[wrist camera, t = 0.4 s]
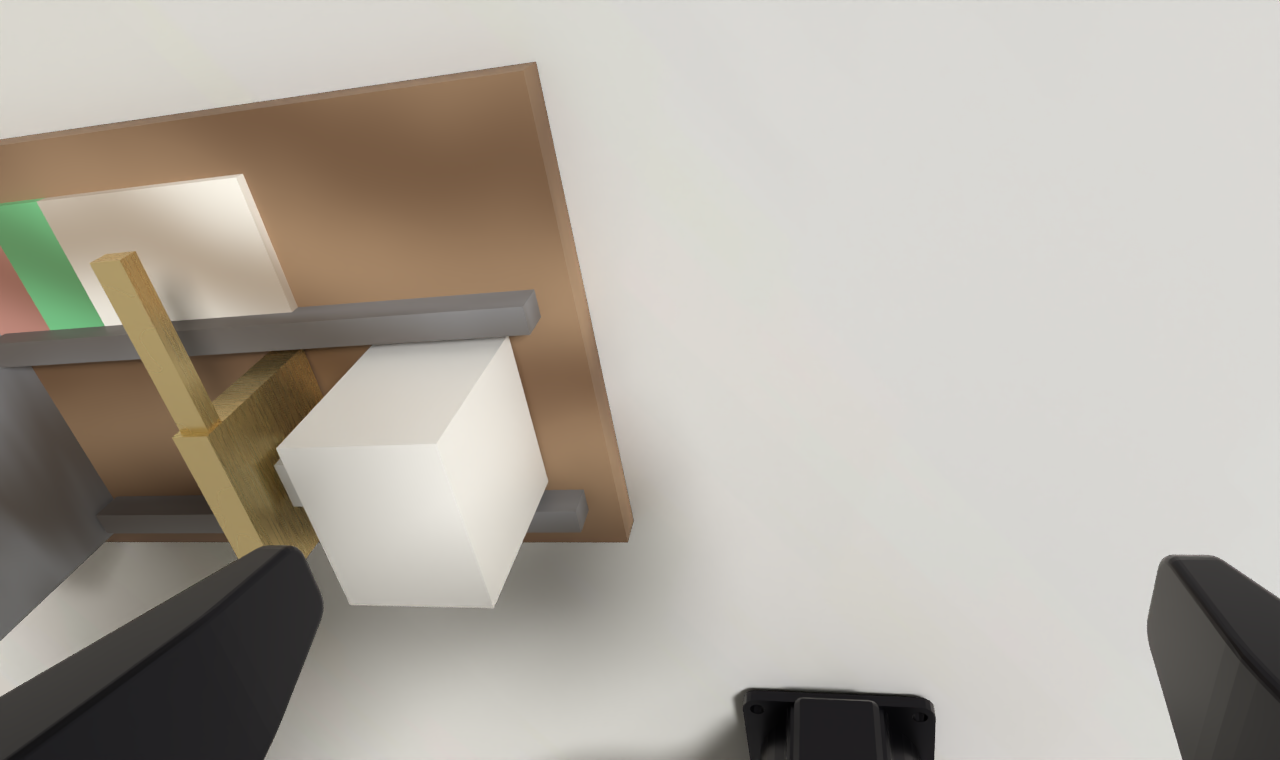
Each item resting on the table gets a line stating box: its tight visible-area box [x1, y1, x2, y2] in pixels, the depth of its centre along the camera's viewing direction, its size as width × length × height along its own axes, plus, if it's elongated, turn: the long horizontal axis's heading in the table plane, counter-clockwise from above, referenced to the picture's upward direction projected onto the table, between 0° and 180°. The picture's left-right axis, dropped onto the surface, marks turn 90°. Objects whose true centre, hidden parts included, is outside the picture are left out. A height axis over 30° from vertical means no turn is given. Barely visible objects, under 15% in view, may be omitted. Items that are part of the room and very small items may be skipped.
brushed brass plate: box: [89, 251, 323, 559], centre depth 22 cm, size 10×1×4 cm, turn 9°
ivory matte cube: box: [274, 336, 548, 608], centre depth 22 cm, size 5×6×5 cm
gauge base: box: [0, 62, 634, 641], centre depth 22 cm, size 14×20×7 cm
